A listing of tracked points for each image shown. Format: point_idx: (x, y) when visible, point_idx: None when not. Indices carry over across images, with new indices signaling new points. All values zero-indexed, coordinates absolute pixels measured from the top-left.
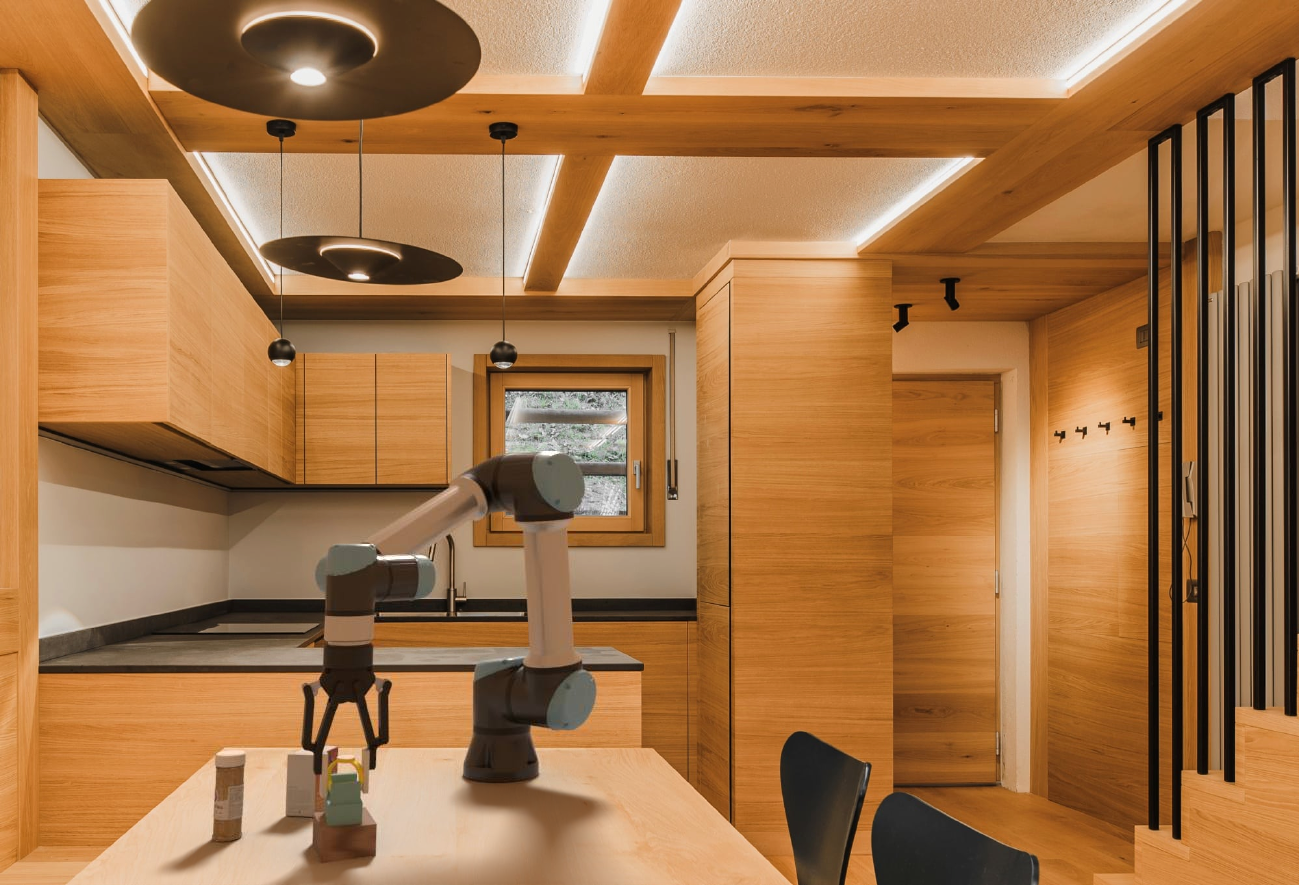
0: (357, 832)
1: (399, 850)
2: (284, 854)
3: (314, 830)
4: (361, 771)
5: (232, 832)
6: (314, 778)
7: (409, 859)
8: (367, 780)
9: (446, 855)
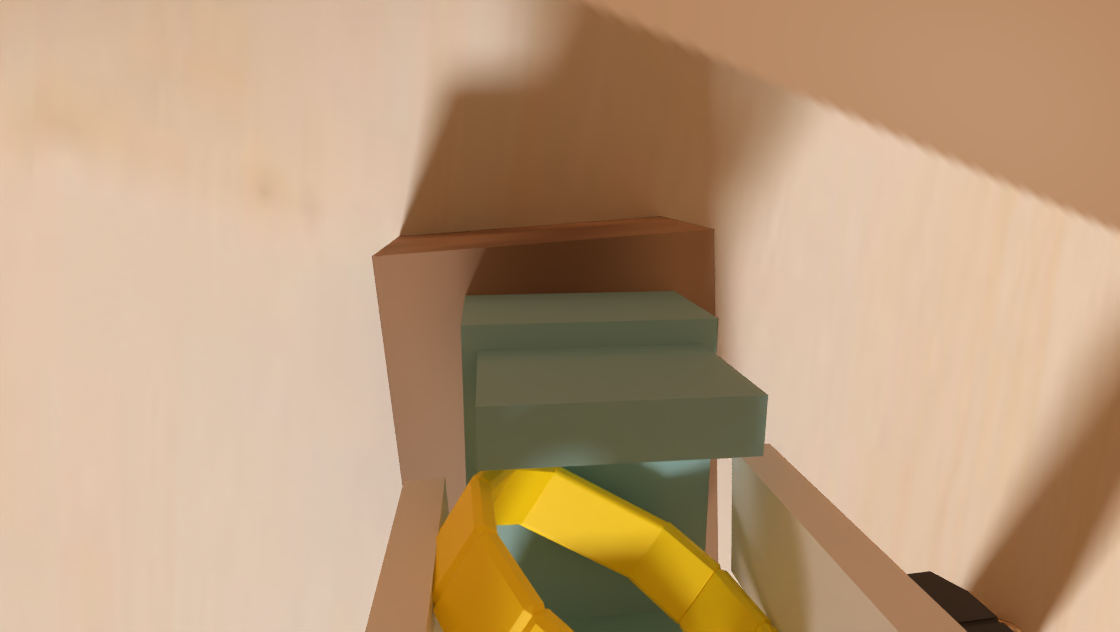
0: (496, 241)
1: (273, 288)
2: (795, 394)
3: None
4: (462, 576)
5: None
6: None
7: (224, 119)
8: (401, 542)
9: (7, 115)
